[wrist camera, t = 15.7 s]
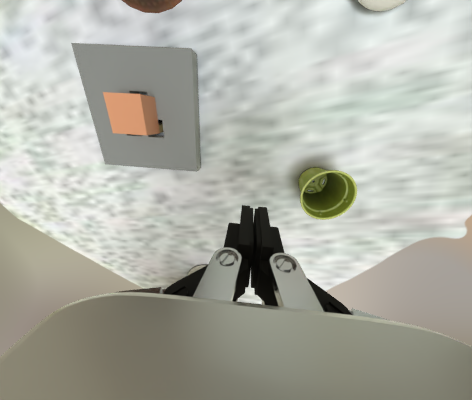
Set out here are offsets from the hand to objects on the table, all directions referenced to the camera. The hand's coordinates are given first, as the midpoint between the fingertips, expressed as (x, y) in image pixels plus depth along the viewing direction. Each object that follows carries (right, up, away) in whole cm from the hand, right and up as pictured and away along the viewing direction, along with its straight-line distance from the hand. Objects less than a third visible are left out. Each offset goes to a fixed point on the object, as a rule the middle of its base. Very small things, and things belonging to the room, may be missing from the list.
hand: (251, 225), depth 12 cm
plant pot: (+16, +6, +26) cm, 31 cm away
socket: (-18, +19, +23) cm, 35 cm away
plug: (-19, +19, +22) cm, 34 cm away
